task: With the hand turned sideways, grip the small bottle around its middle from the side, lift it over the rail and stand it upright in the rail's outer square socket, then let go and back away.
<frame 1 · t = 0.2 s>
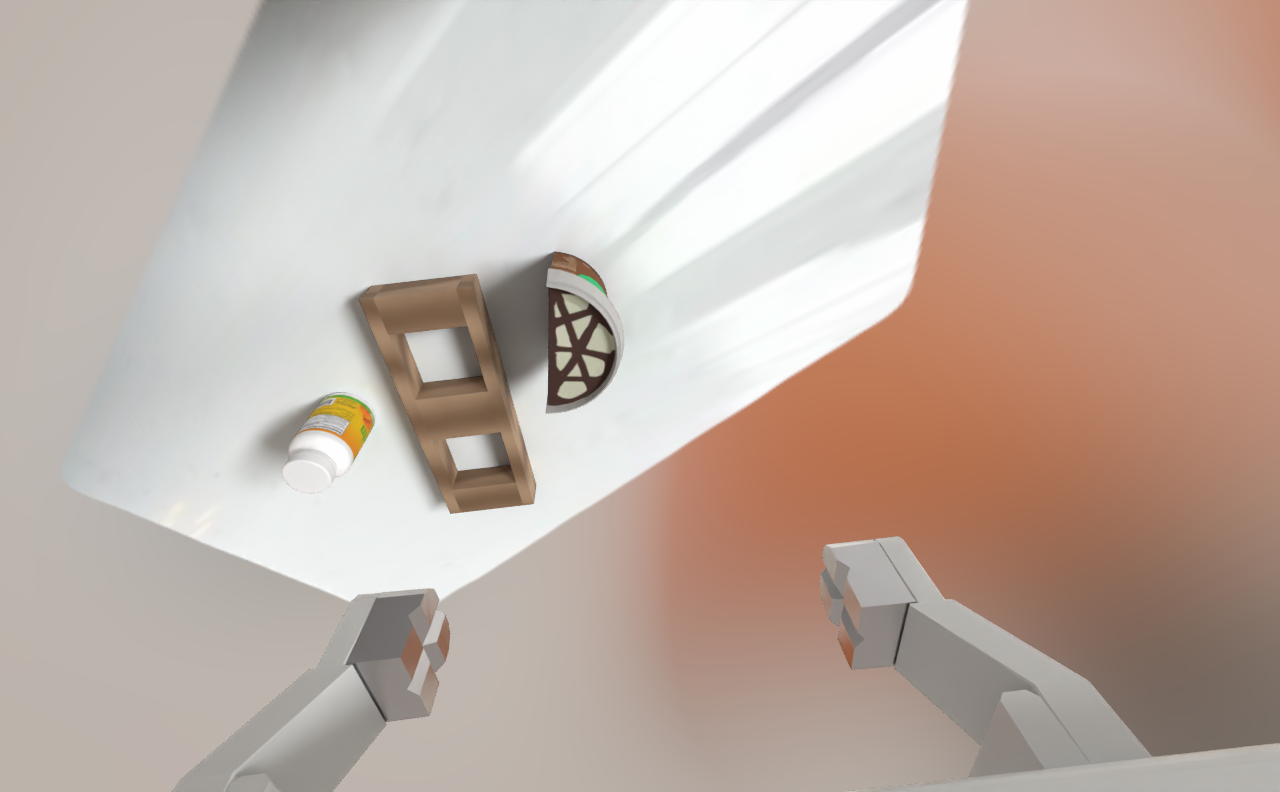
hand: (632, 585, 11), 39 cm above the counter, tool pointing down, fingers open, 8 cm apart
socket rail: (465, 399, 54), on the counter
supplement bottle: (349, 411, 54), on the counter
food container: (587, 302, 49), on the counter
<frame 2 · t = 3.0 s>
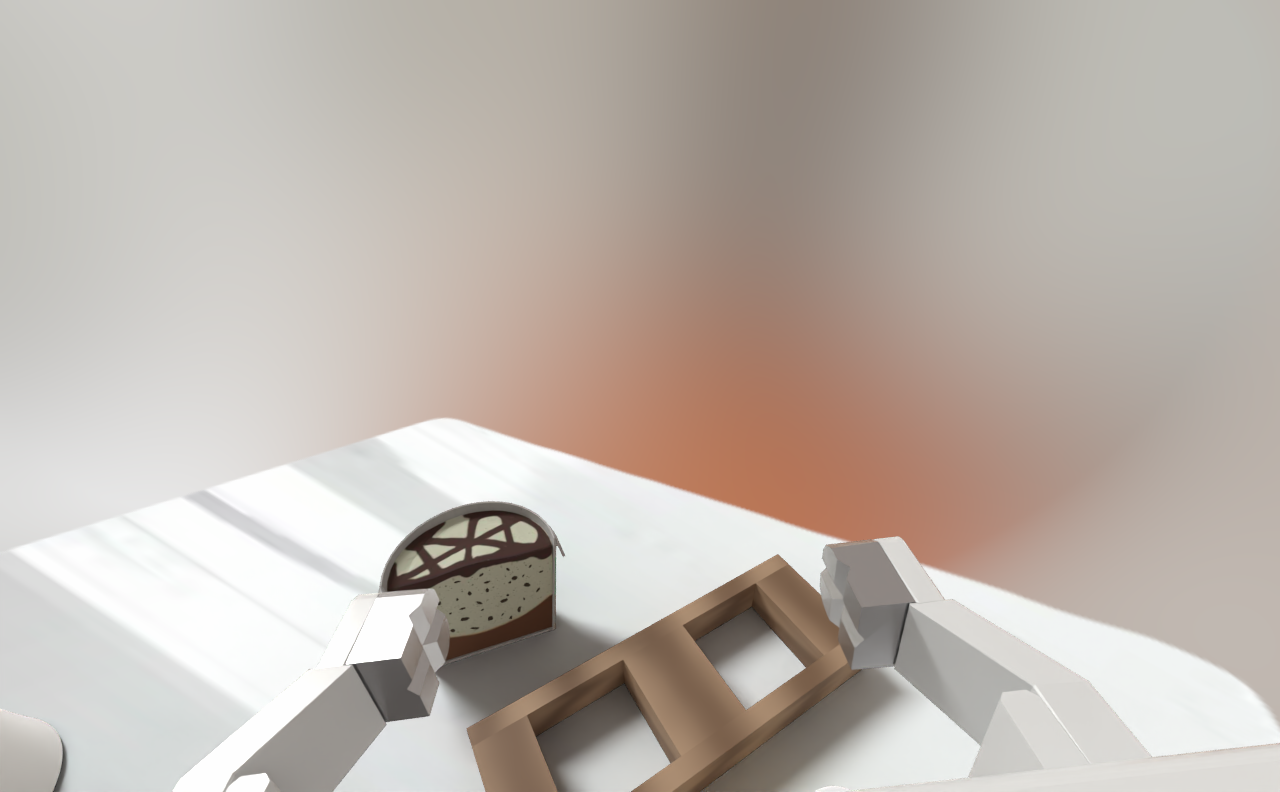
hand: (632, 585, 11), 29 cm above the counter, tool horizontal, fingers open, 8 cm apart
socket rail: (680, 707, 37), on the counter
food container: (491, 616, 43), on the counter
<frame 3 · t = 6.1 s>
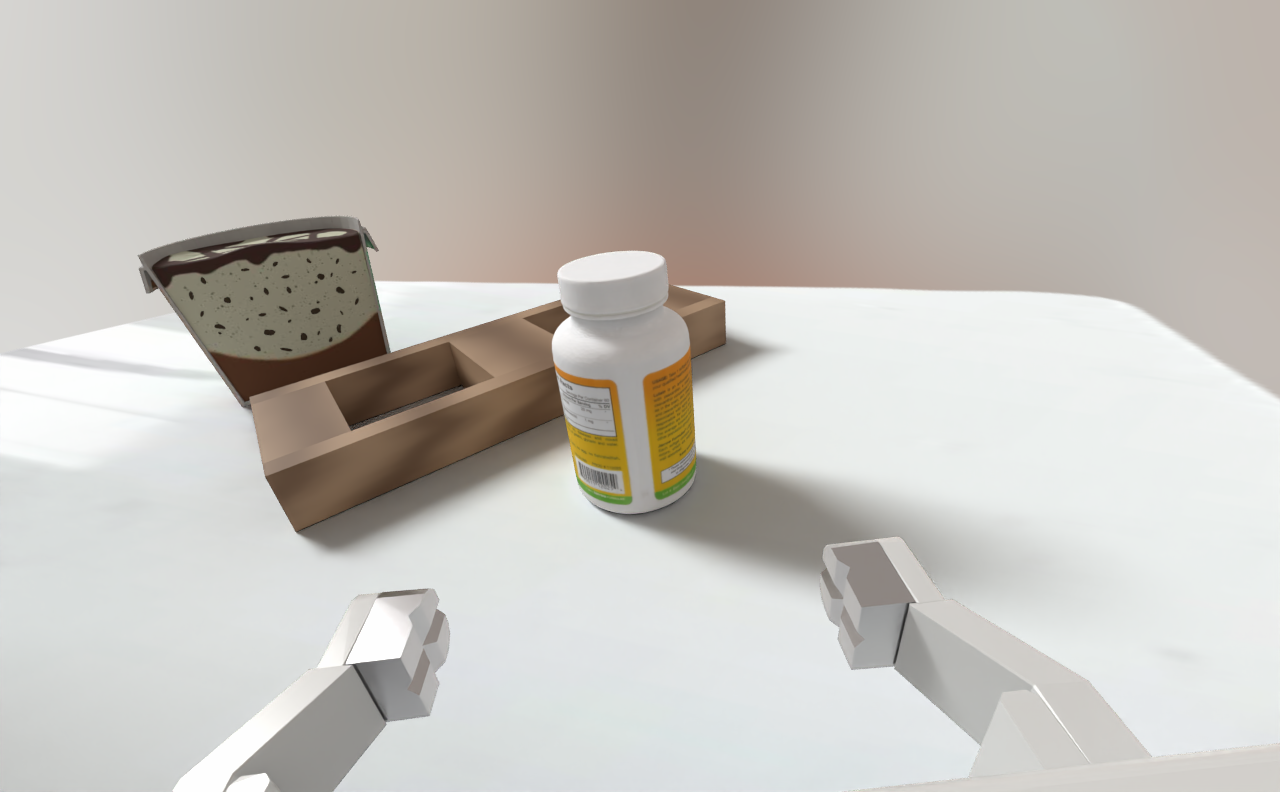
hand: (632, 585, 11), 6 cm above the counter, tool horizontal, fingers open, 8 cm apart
socket rail: (520, 388, 32), on the counter
supplement bottle: (637, 480, 24), on the counter
food container: (324, 372, 38), on the counter
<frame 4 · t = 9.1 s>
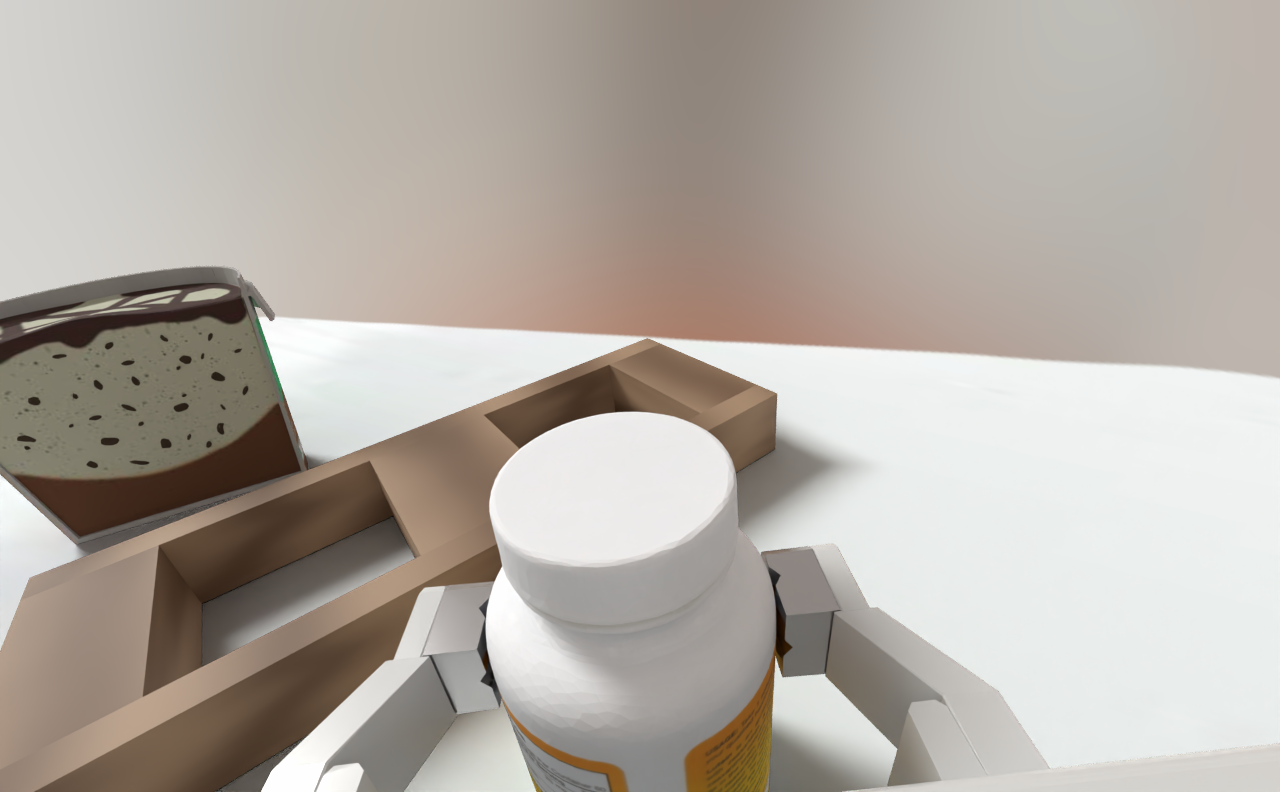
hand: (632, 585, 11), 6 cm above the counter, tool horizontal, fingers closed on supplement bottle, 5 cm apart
socket rail: (476, 530, 22), on the counter
supplement bottle: (658, 784, 13), on the counter, touching gripper
food container: (215, 476, 28), on the counter
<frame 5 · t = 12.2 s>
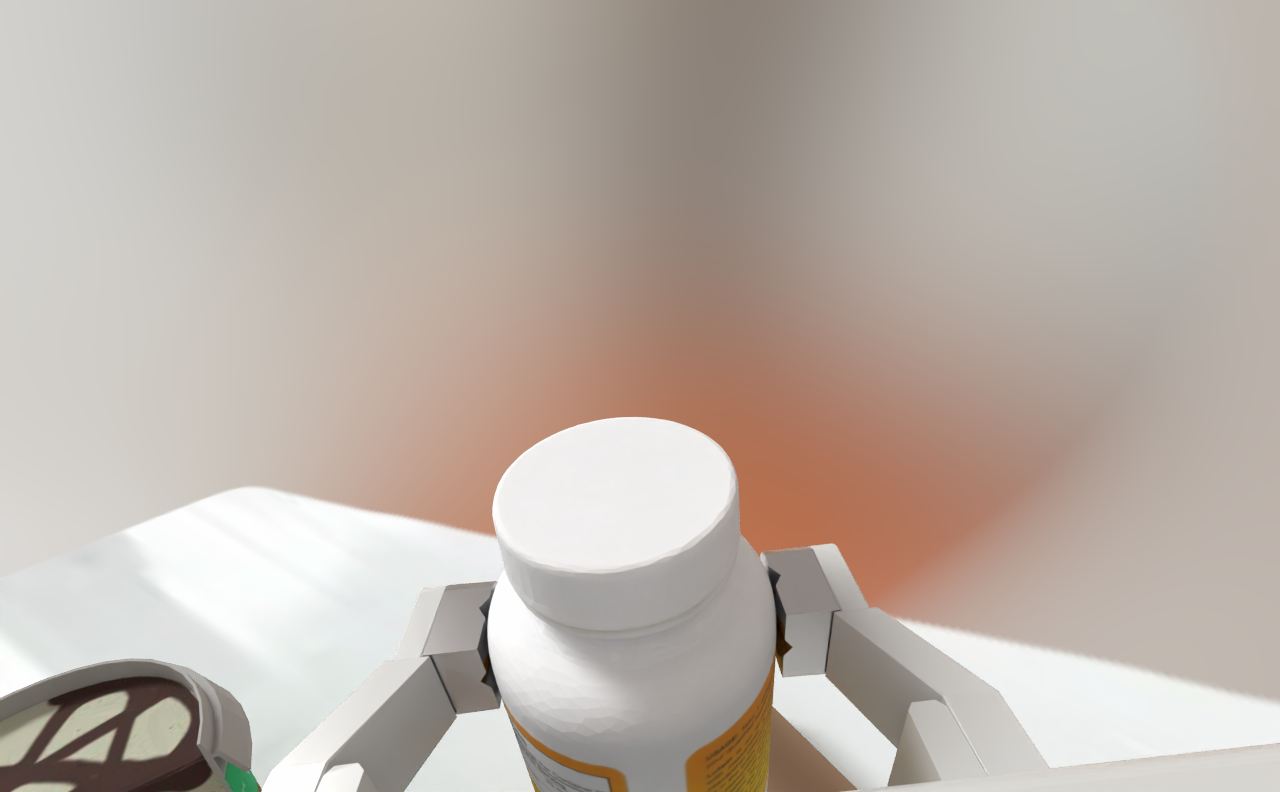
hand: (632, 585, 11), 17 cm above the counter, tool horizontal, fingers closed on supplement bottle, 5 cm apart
supplement bottle: (656, 787, 13), point 10 cm above the counter, touching gripper
when the fingers open (8 cm above the counter, at t = 15.2 s): supplement bottle drops 2 cm, resting in socket rail.
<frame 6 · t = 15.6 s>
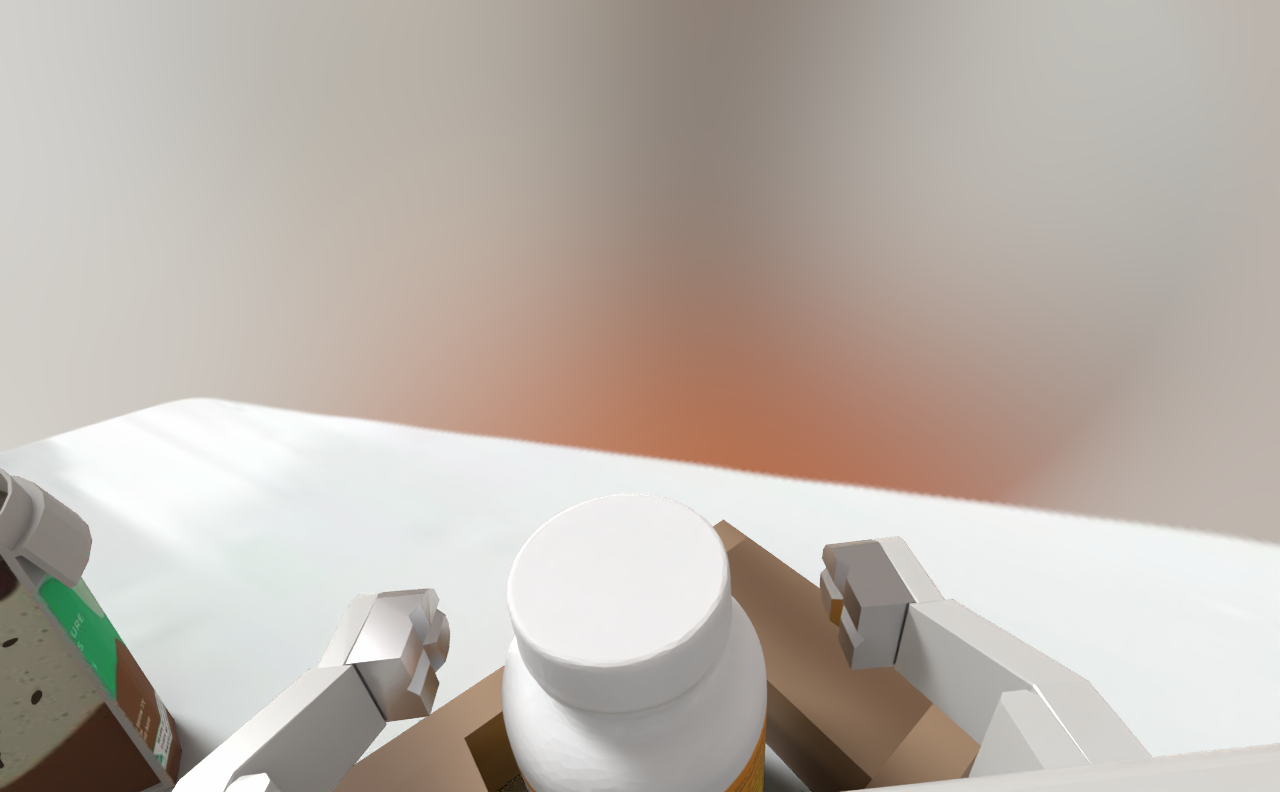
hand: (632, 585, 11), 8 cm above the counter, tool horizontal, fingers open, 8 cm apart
food container: (32, 771, 17), on the counter
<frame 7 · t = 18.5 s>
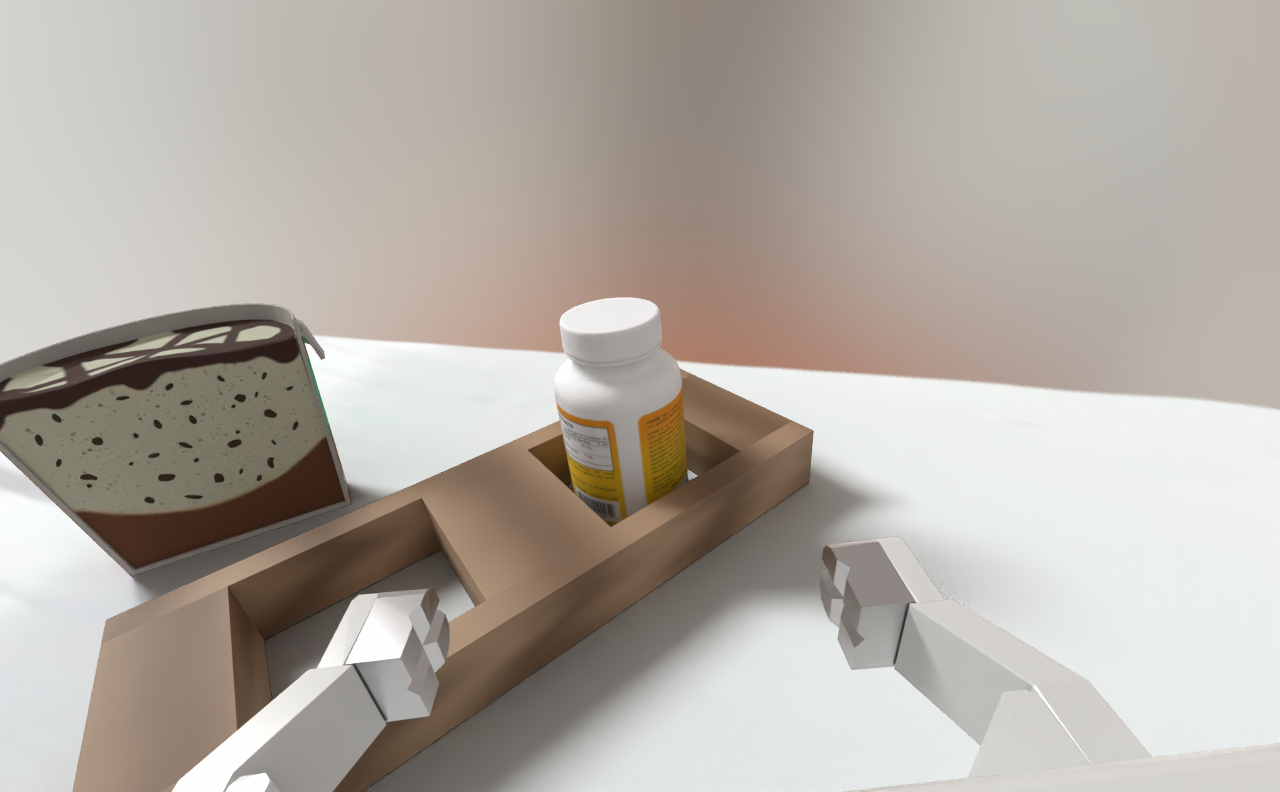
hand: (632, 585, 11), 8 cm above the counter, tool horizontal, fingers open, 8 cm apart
socket rail: (525, 565, 23), on the counter
supplement bottle: (633, 505, 26), resting in socket rail
food container: (259, 505, 28), on the counter
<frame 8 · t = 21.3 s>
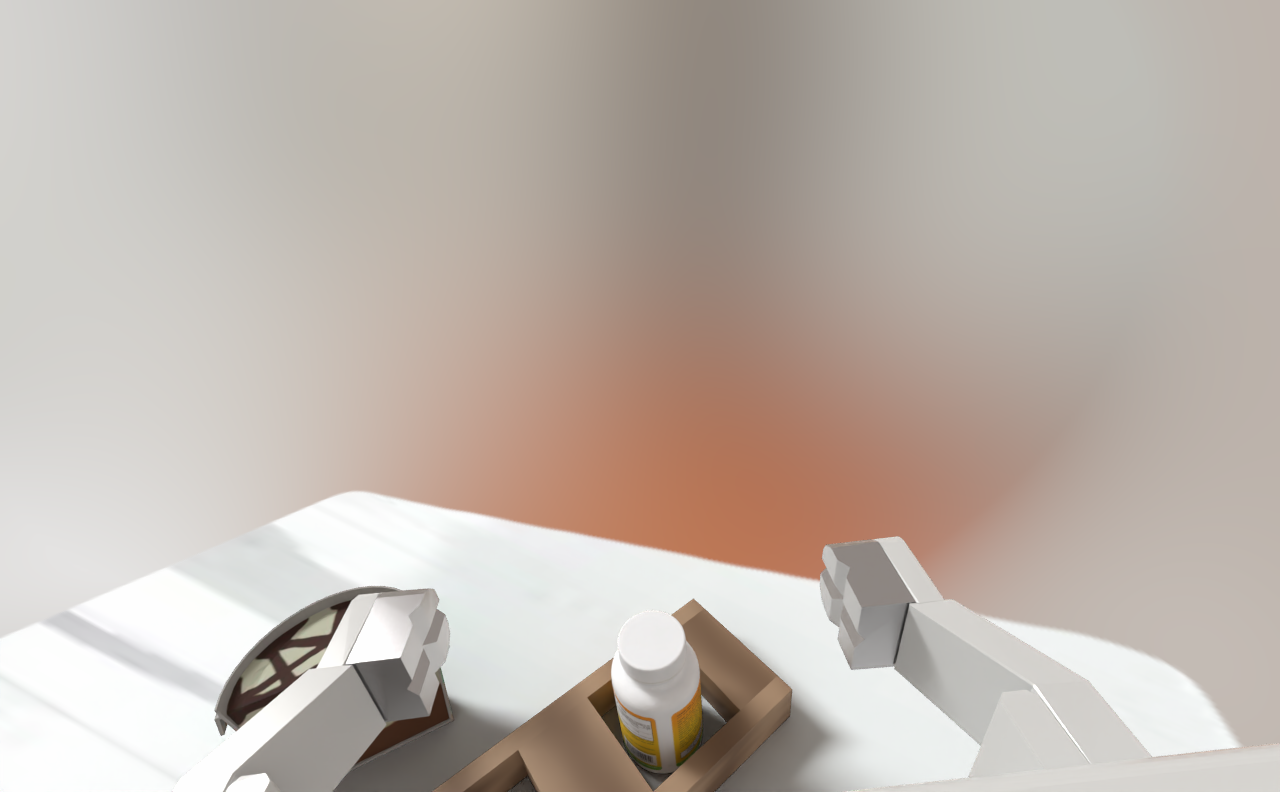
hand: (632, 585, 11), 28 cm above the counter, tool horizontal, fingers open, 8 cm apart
supplement bottle: (662, 733, 35), resting in socket rail
food container: (382, 715, 38), on the counter
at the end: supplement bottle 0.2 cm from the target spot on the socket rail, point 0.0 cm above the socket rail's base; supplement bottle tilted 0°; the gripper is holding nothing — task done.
